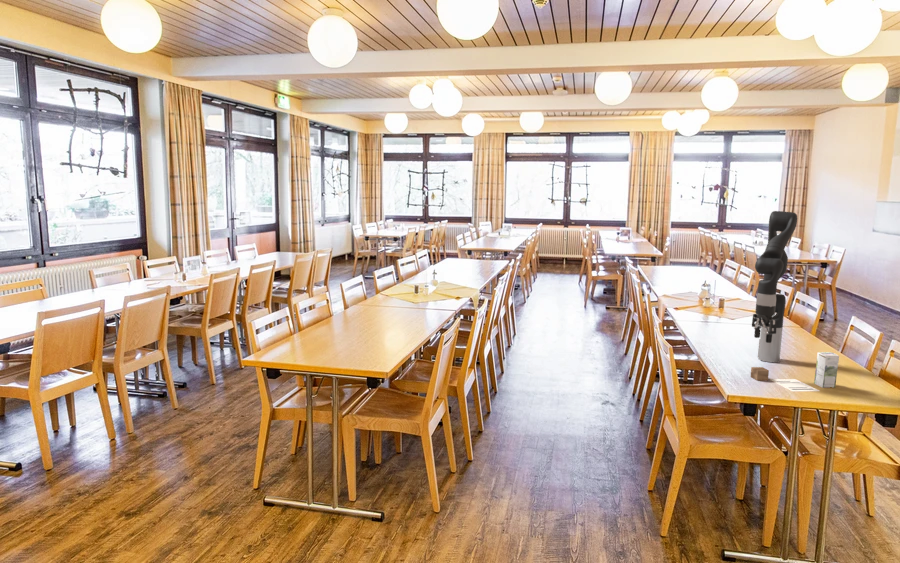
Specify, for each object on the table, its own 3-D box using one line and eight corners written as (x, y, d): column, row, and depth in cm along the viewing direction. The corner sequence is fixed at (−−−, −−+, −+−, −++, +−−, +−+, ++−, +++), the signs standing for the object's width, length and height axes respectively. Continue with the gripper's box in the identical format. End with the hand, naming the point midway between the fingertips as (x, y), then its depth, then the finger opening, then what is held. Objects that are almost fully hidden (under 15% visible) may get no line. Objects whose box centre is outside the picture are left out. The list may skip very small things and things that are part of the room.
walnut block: (750, 377, 261) (751, 367, 260) (761, 377, 261) (762, 367, 260) (756, 381, 256) (757, 370, 255) (767, 381, 256) (768, 370, 255)
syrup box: (826, 383, 253) (829, 351, 250) (835, 388, 247) (839, 355, 245) (813, 384, 252) (816, 351, 250) (822, 388, 247) (826, 355, 244)
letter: (769, 380, 257) (769, 379, 257) (795, 379, 258) (795, 379, 258) (792, 392, 242) (792, 391, 242) (820, 391, 242) (820, 391, 242)
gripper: (748, 300, 260) (745, 336, 262) (767, 307, 246) (763, 344, 248) (764, 300, 260) (761, 336, 263) (784, 306, 246) (780, 344, 249)
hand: (762, 340), depth 256 cm, fingers open, 8 cm apart
